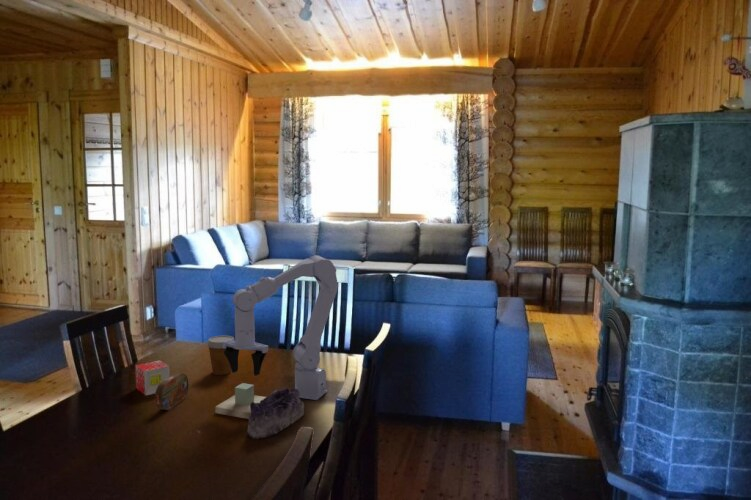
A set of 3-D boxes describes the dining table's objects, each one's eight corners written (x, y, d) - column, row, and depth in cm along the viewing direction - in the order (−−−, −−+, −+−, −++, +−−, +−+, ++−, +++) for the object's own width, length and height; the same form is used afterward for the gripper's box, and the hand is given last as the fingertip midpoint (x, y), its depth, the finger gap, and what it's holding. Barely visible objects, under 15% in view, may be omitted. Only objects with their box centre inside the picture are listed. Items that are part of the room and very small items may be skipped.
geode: (276, 444, 153) (270, 408, 152) (239, 442, 157) (233, 407, 156) (312, 412, 171) (307, 379, 170) (278, 411, 176) (273, 379, 175)
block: (254, 400, 177) (253, 384, 176) (246, 405, 173) (246, 389, 172) (242, 398, 178) (242, 383, 177) (235, 403, 174) (234, 387, 174)
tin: (163, 414, 171) (162, 386, 170) (153, 413, 171) (152, 385, 170) (189, 395, 185) (189, 369, 184) (180, 394, 186) (179, 369, 185)
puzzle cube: (145, 395, 185) (144, 371, 184) (136, 388, 191) (135, 365, 190) (170, 389, 190) (169, 366, 189) (160, 383, 196) (159, 360, 195)
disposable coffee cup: (241, 370, 209) (240, 337, 207) (221, 378, 201) (220, 344, 199) (222, 365, 214) (221, 333, 212) (202, 373, 206) (201, 339, 204)
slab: (272, 405, 179) (272, 398, 179) (251, 421, 168) (250, 412, 168) (238, 400, 183) (238, 392, 183) (215, 414, 172) (215, 406, 172)
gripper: (216, 330, 176) (217, 374, 177) (259, 335, 171) (260, 380, 173) (229, 324, 182) (230, 367, 184) (271, 329, 177) (272, 372, 179)
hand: (245, 373), depth 179 cm, fingers open, 7 cm apart
